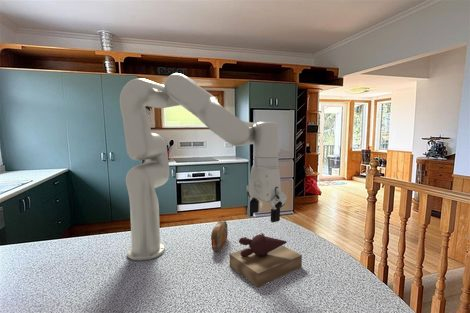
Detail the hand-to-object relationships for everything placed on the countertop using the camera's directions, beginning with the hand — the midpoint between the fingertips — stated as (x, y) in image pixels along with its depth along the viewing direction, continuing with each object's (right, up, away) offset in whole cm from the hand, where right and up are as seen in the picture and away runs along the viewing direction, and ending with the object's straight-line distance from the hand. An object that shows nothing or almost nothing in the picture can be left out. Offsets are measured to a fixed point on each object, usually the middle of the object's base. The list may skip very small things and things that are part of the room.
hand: (264, 216), depth 79 cm
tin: (-15, -15, +16) cm, 27 cm away
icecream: (0, -12, +1) cm, 12 cm away
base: (+1, -16, +1) cm, 16 cm away
